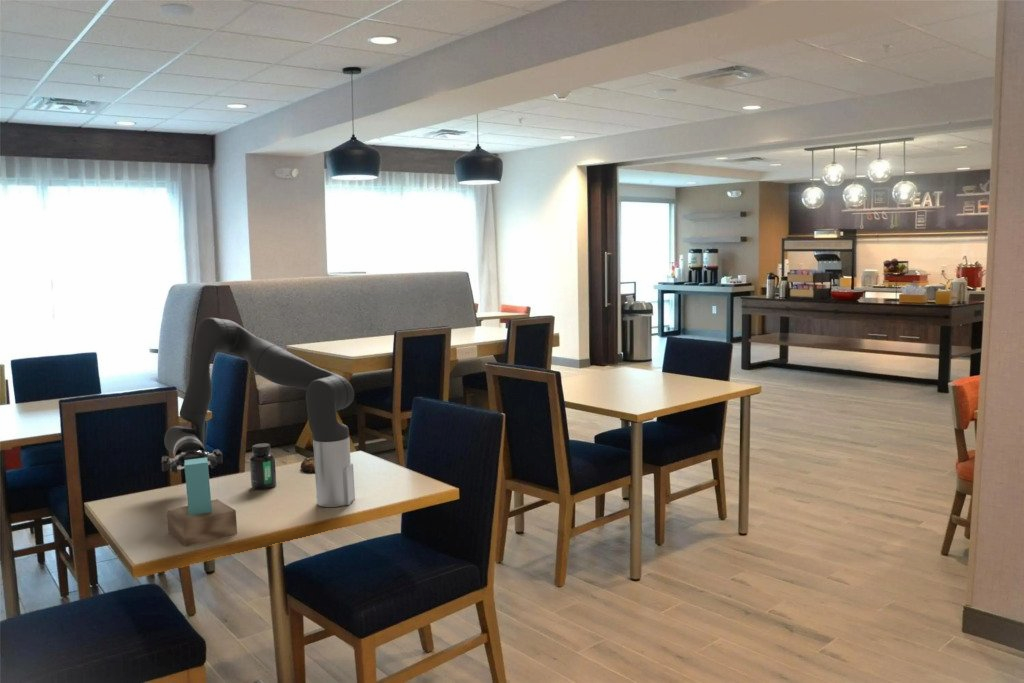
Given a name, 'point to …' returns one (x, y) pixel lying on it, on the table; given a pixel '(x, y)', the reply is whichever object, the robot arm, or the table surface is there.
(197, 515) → the walnut block
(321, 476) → the robot arm
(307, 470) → the bread roll
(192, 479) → the teal post
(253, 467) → the supplement bottle
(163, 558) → the table surface
